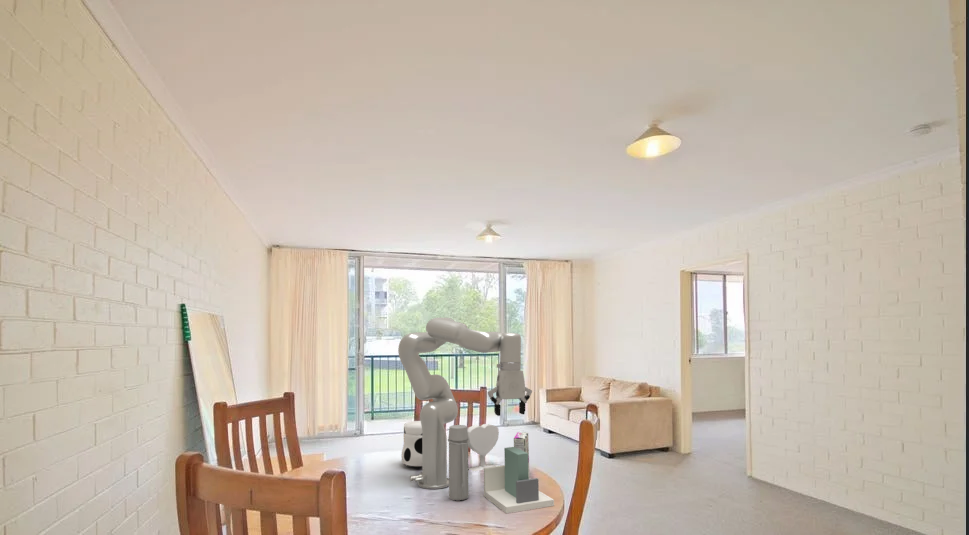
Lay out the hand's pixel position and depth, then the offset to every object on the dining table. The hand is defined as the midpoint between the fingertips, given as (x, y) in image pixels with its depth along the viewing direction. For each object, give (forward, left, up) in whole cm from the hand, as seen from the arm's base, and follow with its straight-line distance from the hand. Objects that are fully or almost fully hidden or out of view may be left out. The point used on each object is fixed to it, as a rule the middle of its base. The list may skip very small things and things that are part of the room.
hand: (509, 414), depth 192 cm
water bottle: (-17, +6, -29) cm, 35 cm away
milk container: (-17, +55, -29) cm, 65 cm away
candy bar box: (+16, +22, -29) cm, 40 cm away
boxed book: (+1, -3, -27) cm, 27 cm away
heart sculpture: (+6, +40, -29) cm, 50 cm away
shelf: (+1, -4, -29) cm, 29 cm away
